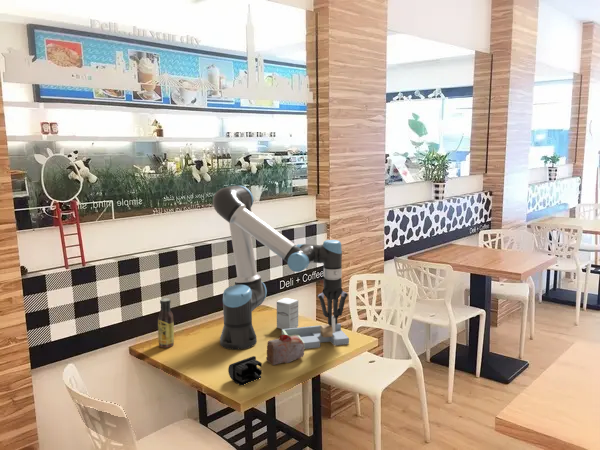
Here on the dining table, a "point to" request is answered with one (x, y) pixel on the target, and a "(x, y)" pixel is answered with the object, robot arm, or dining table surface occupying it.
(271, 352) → the food item
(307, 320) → the dining table surface
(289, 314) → the supplement box
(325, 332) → the oak block
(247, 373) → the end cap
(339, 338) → the tray
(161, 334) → the sauce bottle
